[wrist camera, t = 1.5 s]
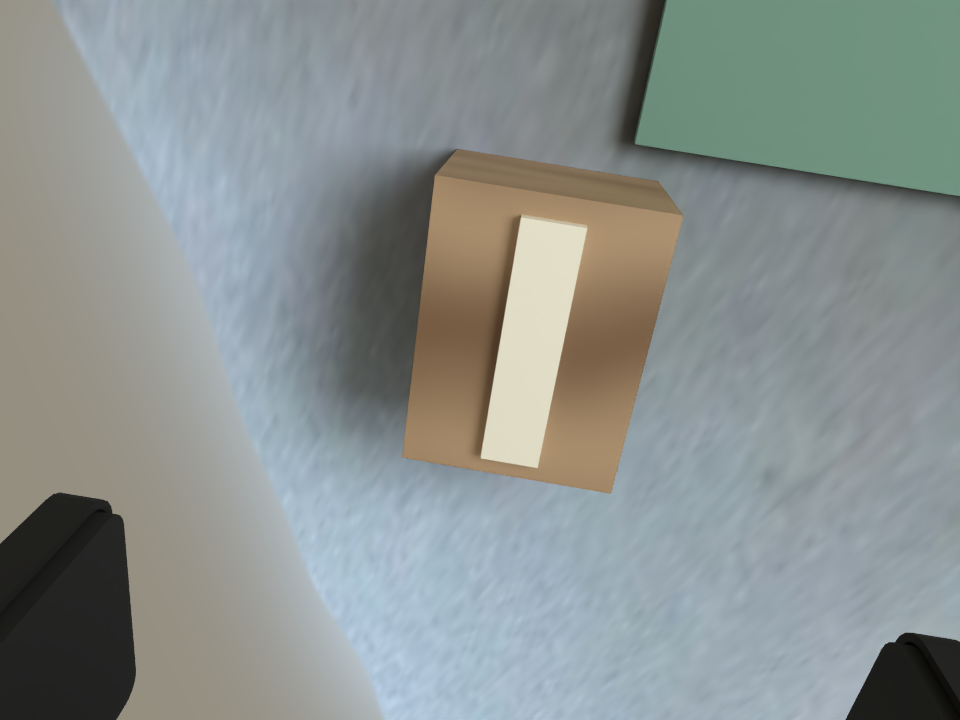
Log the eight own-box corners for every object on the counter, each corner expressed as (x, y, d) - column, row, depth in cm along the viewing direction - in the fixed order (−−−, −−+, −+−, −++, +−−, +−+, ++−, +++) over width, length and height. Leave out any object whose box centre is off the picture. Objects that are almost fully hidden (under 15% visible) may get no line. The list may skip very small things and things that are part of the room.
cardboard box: (601, 417, 25) (611, 499, 20) (426, 388, 25) (400, 462, 21) (658, 181, 22) (685, 218, 17) (457, 149, 22) (433, 177, 17)
